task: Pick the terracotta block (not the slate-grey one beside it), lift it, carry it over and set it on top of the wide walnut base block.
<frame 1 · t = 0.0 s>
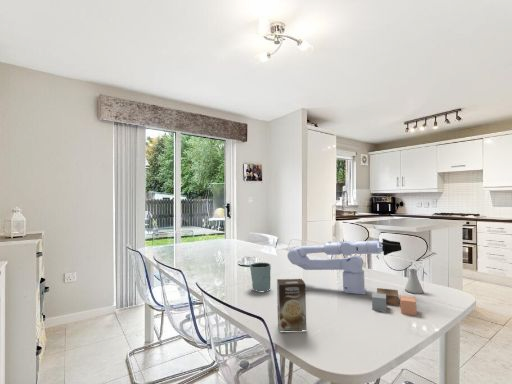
hand: (400, 246, 122), 22 cm above the table, tool horizontal, fingers open, 7 cm apart
grey green cup: (261, 289, 137), on the table
slate grey block: (379, 308, 110), on the table
terracotta block: (408, 312, 106), on the table
flask: (414, 291, 127), on the table
coffee box: (292, 328, 96), on the table
walnut base block: (387, 301, 117), on the table
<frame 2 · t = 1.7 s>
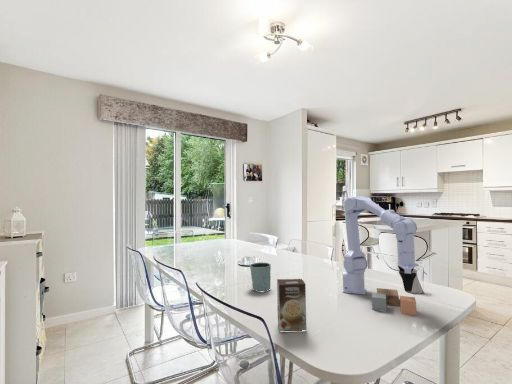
hand: (407, 287, 106), 9 cm above the table, tool pointing down, fingers open, 7 cm apart
nothing on the table moved.
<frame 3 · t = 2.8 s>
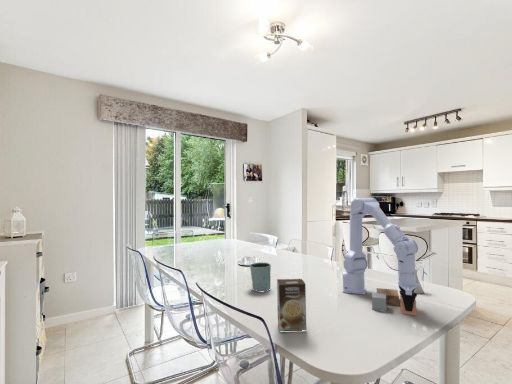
hand: (408, 307, 106), 1 cm above the table, tool pointing down, fingers closed on terracotta block, 5 cm apart
terracotta block: (408, 311, 106), on the table, touching gripper
everything else where it was.
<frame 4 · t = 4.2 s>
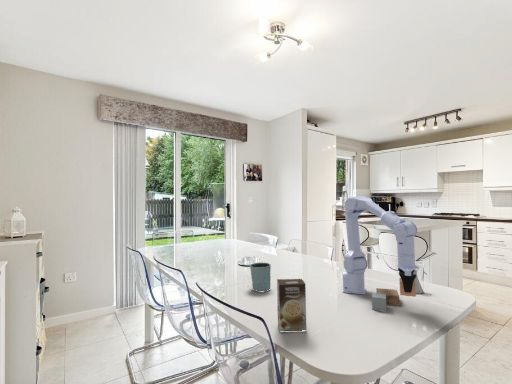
hand: (407, 289, 106), 8 cm above the table, tool pointing down, fingers closed on terracotta block, 5 cm apart
terracotta block: (407, 293, 106), point 7 cm above the table, touching gripper
everything else where it was.
when the fingers open (7 cm above the table, at t = 5.9 s): terracotta block drops 2 cm, resting on walnut base block.
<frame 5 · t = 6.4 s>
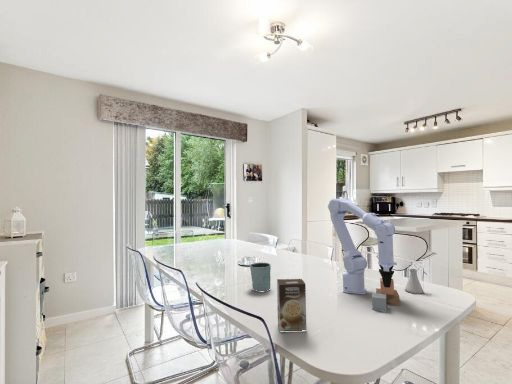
hand: (387, 284, 117), 7 cm above the table, tool pointing down, fingers open, 7 cm apart
terracotta block: (387, 292, 117), point 4 cm above the table, touching walnut base block
walnut base block: (387, 301, 117), on the table, touching terracotta block
everything else where it was.
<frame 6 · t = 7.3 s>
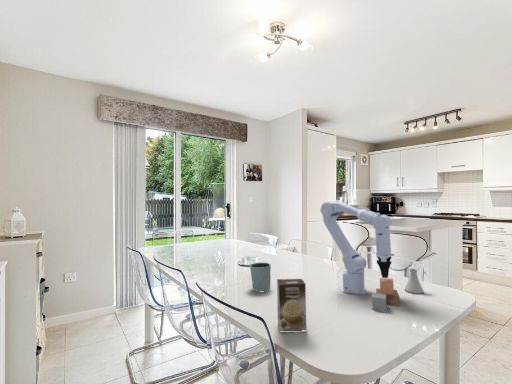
hand: (385, 275, 120), 10 cm above the table, tool pointing down, fingers open, 7 cm apart
terracotta block: (386, 292, 117), point 4 cm above the table
walnut base block: (387, 301, 117), on the table
everything else where it was.
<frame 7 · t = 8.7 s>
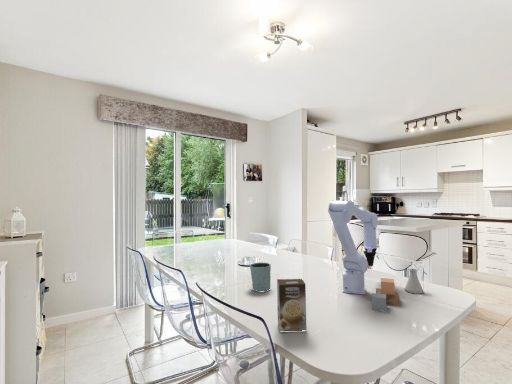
hand: (370, 264, 139), 10 cm above the table, tool pointing down, fingers open, 7 cm apart
nothing on the table moved.
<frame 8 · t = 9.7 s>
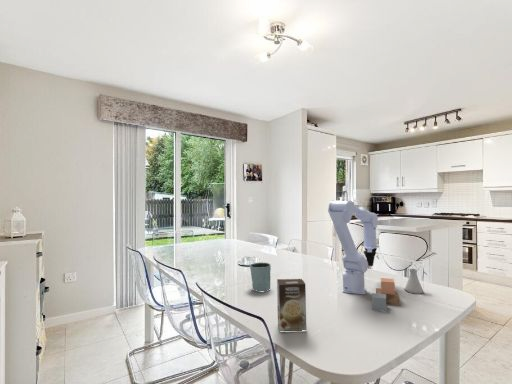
hand: (370, 264, 139), 10 cm above the table, tool pointing down, fingers open, 7 cm apart
terracotta block: (387, 292, 117), point 4 cm above the table, touching walnut base block
walnut base block: (387, 301, 117), on the table, touching terracotta block
everything else where it was.
at the end: terracotta block 0.3 cm off-centre on the walnut base block, point 4.0 cm above the walnut base block's base; terracotta block tilted 1°; the gripper is holding nothing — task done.
